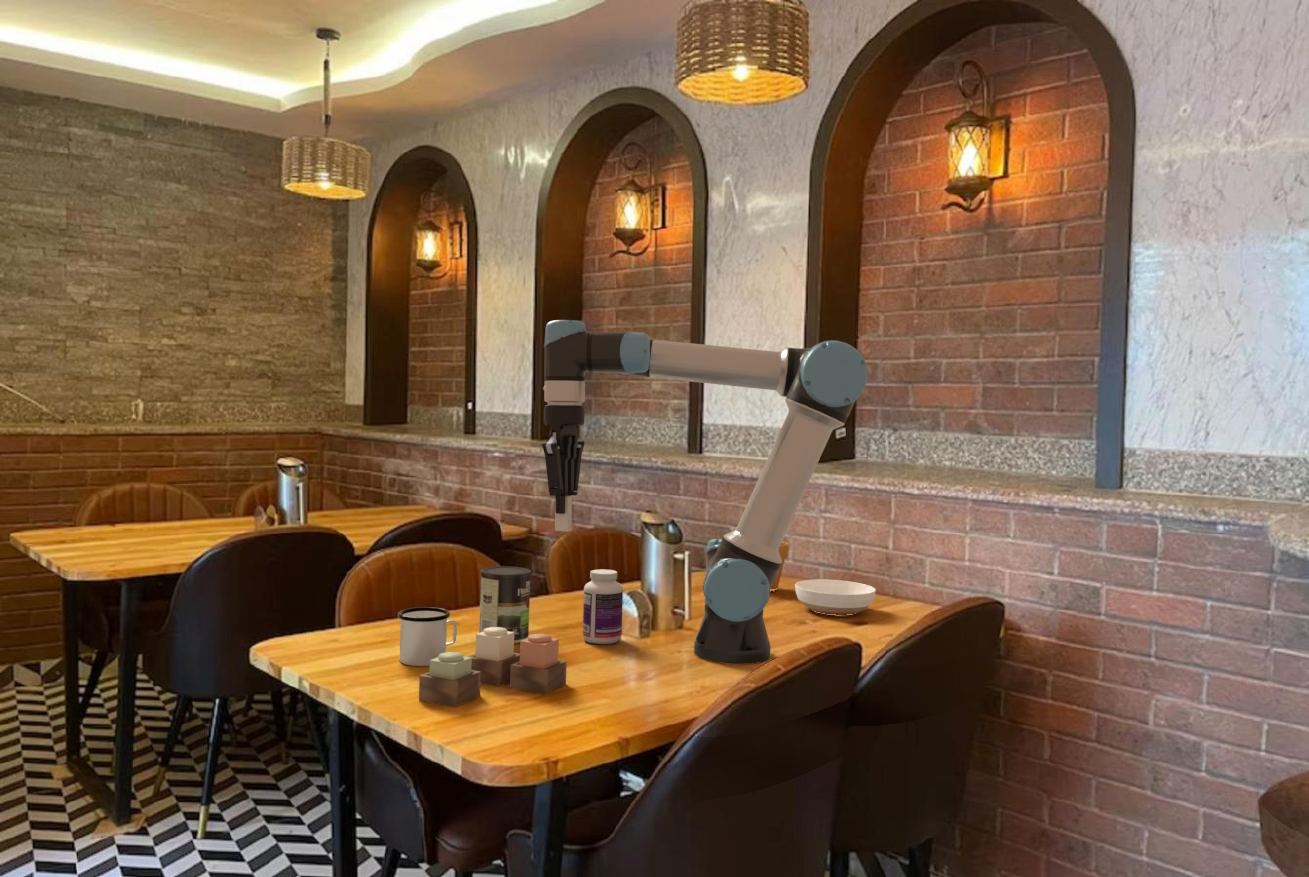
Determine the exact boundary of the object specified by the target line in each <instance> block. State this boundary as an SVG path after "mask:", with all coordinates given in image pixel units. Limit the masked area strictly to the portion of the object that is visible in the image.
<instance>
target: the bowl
mask: <svg viewBox="0 0 1309 877" xmlns="http://www.w3.org/2000/svg"><path fill="white" fill-rule="evenodd" d="M794 588H795V594H796V597H797V599H798V600H799V602H801V604H802V605H803V606H804V607H806V608H808V609H810V610H813V611H816V612H820V613H825V614H836V615H847V614H855V613H857V614H858V613H861V612H864V611H865V610H867V609H868V608H869V607H870V606H871V605H872V604H873V602H874V600H875V597H876V591H877V590H876V588H875V587H874V586H871V585H869V584H864V583H860V582H855V581H850V580H841V579H828V578H827V579H825V578H822V579H821V578H820V579H819V578H817V579H805V580H799V581H797V582H796V583H795V584H794ZM813 611H812V612H813Z"/></svg>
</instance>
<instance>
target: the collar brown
mask: <svg viewBox="0 0 1309 877" xmlns="http://www.w3.org/2000/svg"><path fill="white" fill-rule="evenodd" d="M566 684H567V661H566V660H561V659H558V663H557V664H555V665H553V666H551V667H549V668H547V669H540V668H534V667H528V666H522V665H520V661H518V662H516V663H514V664H511V667H510V682H509V689H513V690H519V691H524V692H529V693H534V694H541V695H544V696H545V695H547V694H550V693H551V692H554V691H555V690H557V689H559V688H561V687H563V686H565V685H566Z"/></svg>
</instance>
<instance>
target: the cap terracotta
mask: <svg viewBox="0 0 1309 877" xmlns="http://www.w3.org/2000/svg"><path fill="white" fill-rule="evenodd" d="M559 641H560V639H559V638H556V637H555V638H554V637H552V635H550V634H548V633H547V634H546V633H534V634H529V635H528V638H527V639H524V640H522V641H520V643H519V654H520V665H522V666H528V667H534V668H540V669H547V668H549V667H551V666H553V665H555V664H557V663H558V660H559V646H560V644H559V643H560V642H559Z"/></svg>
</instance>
